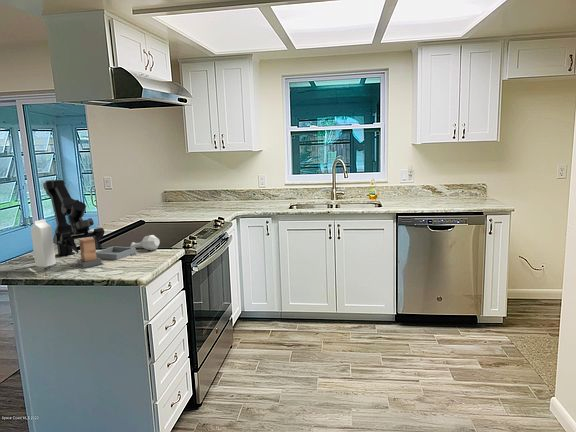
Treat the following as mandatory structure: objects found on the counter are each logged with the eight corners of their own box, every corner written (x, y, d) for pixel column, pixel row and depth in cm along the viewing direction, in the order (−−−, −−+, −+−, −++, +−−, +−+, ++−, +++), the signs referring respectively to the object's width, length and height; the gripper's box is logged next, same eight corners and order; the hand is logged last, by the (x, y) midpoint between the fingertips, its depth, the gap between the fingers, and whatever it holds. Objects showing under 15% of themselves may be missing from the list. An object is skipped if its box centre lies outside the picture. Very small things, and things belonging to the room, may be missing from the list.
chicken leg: (139, 247, 238) (131, 235, 234) (164, 243, 230) (157, 230, 227) (130, 257, 231) (122, 244, 227) (156, 252, 224) (148, 239, 220)
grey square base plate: (74, 266, 199) (73, 259, 199) (96, 262, 206) (95, 255, 206) (82, 270, 192) (81, 263, 192) (104, 265, 199) (104, 259, 198)
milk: (35, 268, 199) (29, 221, 196) (46, 264, 205) (40, 218, 202) (45, 268, 198) (39, 221, 194) (56, 265, 203) (50, 219, 200)
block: (82, 264, 199) (79, 239, 197) (93, 262, 202) (90, 237, 201) (85, 266, 196) (83, 240, 194) (97, 264, 199) (94, 239, 197)
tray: (93, 259, 211) (93, 252, 210) (113, 252, 224) (113, 246, 223) (117, 261, 206) (116, 254, 206) (136, 254, 219) (135, 247, 219)
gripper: (58, 216, 192) (69, 243, 186) (101, 210, 205) (112, 236, 199) (55, 231, 199) (65, 258, 193) (96, 225, 212) (107, 250, 206)
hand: (88, 250), depth 197 cm, fingers open, 9 cm apart
